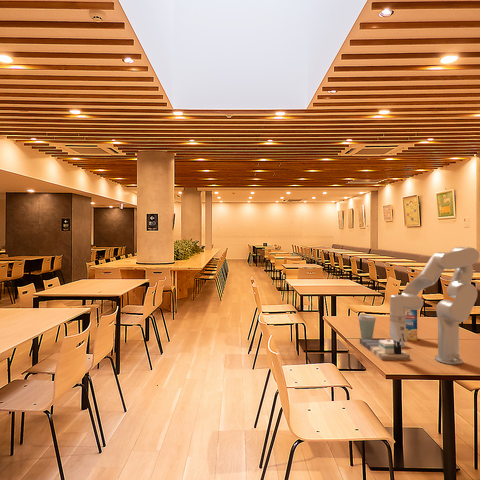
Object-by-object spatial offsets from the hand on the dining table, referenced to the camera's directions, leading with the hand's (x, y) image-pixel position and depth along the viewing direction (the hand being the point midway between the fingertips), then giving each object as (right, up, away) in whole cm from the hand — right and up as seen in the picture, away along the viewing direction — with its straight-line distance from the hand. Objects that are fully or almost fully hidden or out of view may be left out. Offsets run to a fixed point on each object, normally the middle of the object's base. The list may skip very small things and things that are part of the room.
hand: (397, 353), depth 193 cm
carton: (0, -1, +9) cm, 9 cm away
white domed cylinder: (+12, -4, +28) cm, 30 cm away
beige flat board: (-1, -4, +18) cm, 18 cm away
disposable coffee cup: (-1, -4, +43) cm, 43 cm away
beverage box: (+25, -4, +43) cm, 50 cm away
